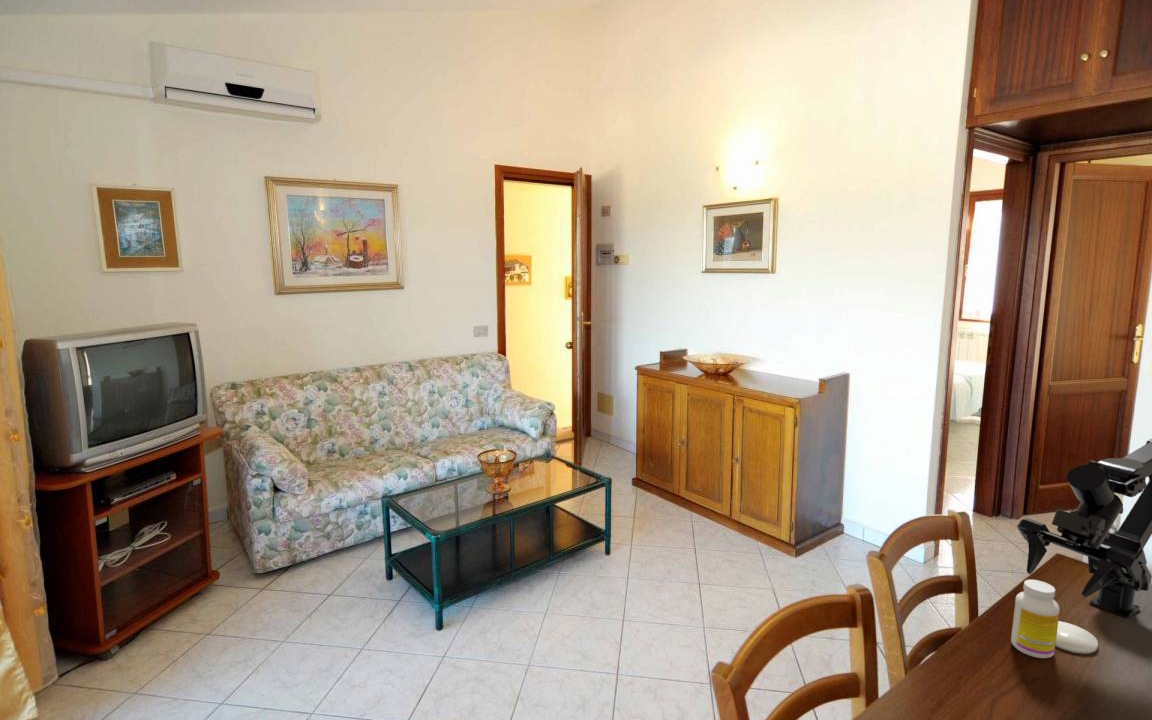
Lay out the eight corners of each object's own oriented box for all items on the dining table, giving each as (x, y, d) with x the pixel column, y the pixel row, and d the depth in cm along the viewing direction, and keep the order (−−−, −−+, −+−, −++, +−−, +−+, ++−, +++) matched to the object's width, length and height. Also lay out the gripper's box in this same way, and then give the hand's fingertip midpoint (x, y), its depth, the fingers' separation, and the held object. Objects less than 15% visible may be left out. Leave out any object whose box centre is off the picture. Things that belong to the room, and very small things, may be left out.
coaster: (1051, 619, 125) (1051, 615, 125) (1106, 643, 117) (1106, 638, 117) (1028, 634, 120) (1029, 629, 120) (1084, 659, 113) (1085, 654, 113)
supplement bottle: (1061, 662, 112) (1070, 597, 110) (1021, 657, 114) (1028, 593, 111) (1042, 639, 119) (1050, 578, 116) (1003, 635, 120) (1010, 575, 118)
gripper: (1027, 479, 124) (988, 542, 121) (1143, 513, 108) (1102, 587, 105) (1045, 508, 129) (1008, 569, 126) (1159, 545, 112) (1119, 617, 109)
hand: (1054, 584), depth 116 cm, fingers open, 9 cm apart
